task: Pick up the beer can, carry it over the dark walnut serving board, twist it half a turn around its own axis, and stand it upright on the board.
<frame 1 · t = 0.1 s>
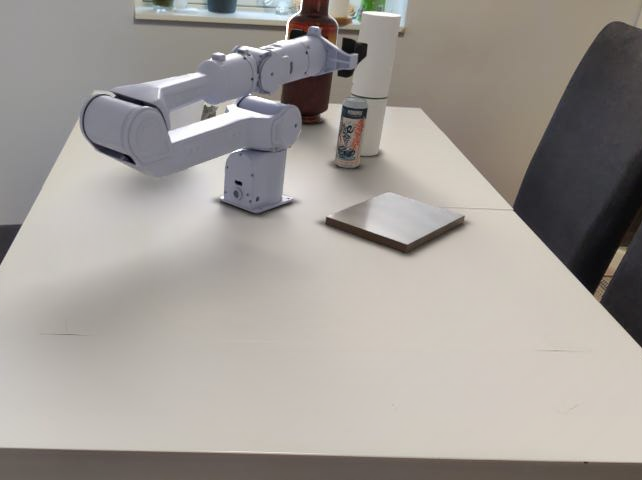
hand: (345, 46, 115), 22 cm above the table, tool horizontal, fingers open, 7 cm apart
serving board: (395, 223, 109), on the table
vase: (302, 119, 162), on the table
beer can: (346, 166, 134), on the table
cylindrical container: (360, 151, 143), on the table
cup: (173, 158, 131), on the table
egg carton: (198, 124, 153), on the table
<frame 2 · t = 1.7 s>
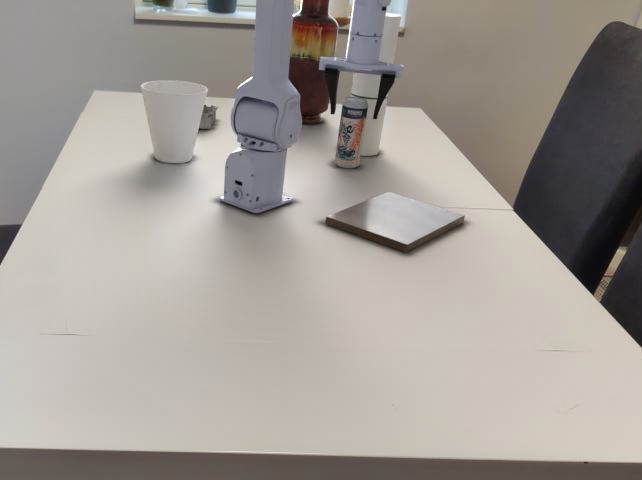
hand: (353, 115, 129), 9 cm above the table, tool pointing down, fingers open, 7 cm apart
nothing on the table moved.
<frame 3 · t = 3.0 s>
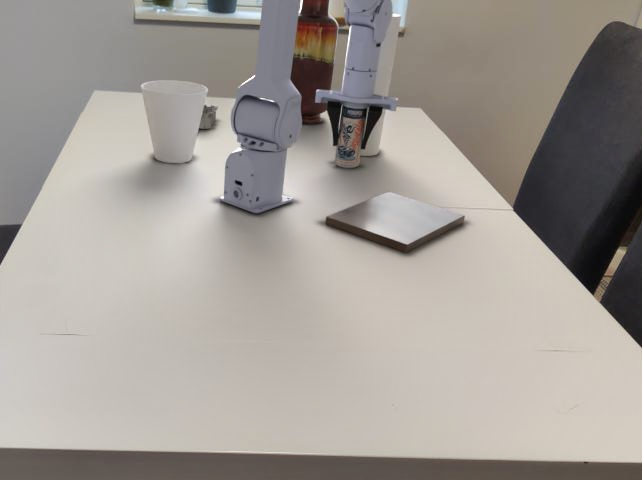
hand: (349, 146, 132), 4 cm above the table, tool pointing down, fingers closed on beer can, 5 cm apart
beer can: (346, 166, 134), on the table, touching gripper
everything else where it was.
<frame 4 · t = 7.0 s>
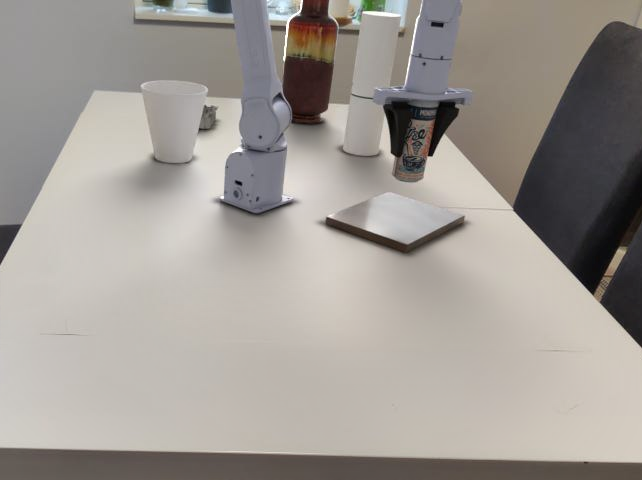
hand: (411, 155, 104), 10 cm above the table, tool pointing down, fingers closed on beer can, 5 cm apart
beer can: (406, 180, 106), point 7 cm above the table, touching gripper
everything else where it was.
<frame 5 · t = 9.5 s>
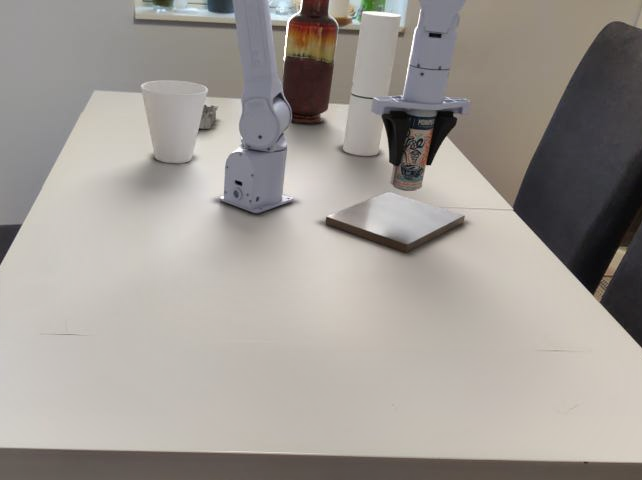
hand: (410, 163, 105), 9 cm above the table, tool pointing down, fingers closed on beer can, 5 cm apart
beer can: (405, 188, 107), point 5 cm above the table, touching gripper
everything else where it was.
when the fingers open (5 cm above the table, at t = 11.2 s): beer can stays where it is, resting on serving board.
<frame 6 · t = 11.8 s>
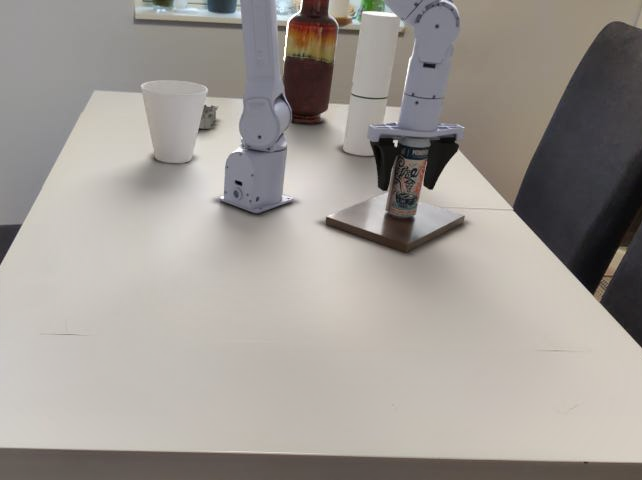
hand: (405, 188, 107), 5 cm above the table, tool pointing down, fingers open, 7 cm apart
beer can: (399, 215, 109), point 1 cm above the table, touching serving board
everything else where it was.
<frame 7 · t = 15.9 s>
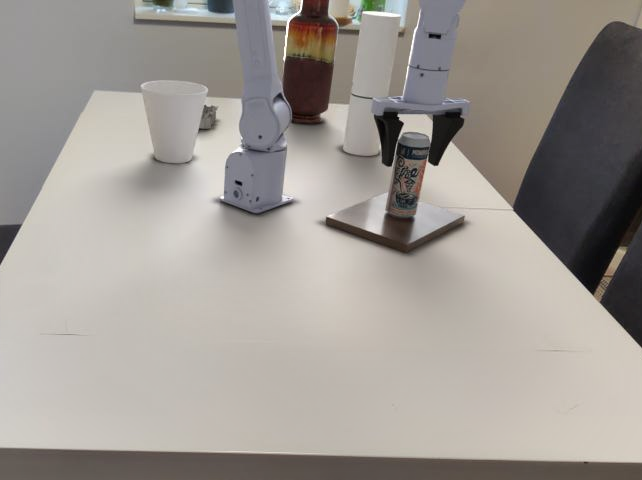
hand: (409, 164, 105), 9 cm above the table, tool pointing down, fingers open, 7 cm apart
nothing on the table moved.
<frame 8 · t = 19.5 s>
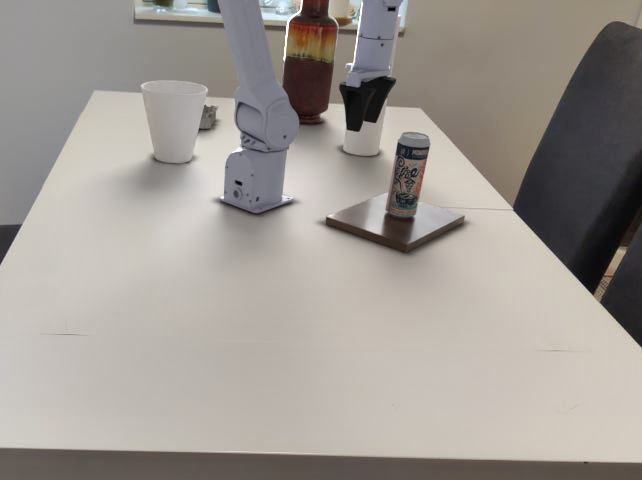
hand: (361, 126, 117), 10 cm above the table, tool pointing down, fingers open, 7 cm apart
nothing on the table moved.
at the end: beer can inside the target area on the serving board (0.5 cm from its centre), point 1.0 cm above the serving board's base; beer can tilted 0°; the gripper is holding nothing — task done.
